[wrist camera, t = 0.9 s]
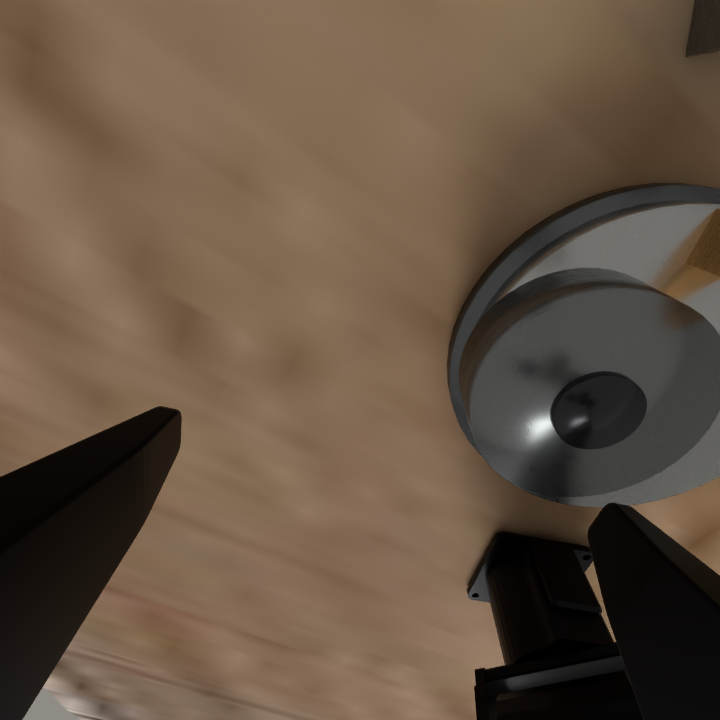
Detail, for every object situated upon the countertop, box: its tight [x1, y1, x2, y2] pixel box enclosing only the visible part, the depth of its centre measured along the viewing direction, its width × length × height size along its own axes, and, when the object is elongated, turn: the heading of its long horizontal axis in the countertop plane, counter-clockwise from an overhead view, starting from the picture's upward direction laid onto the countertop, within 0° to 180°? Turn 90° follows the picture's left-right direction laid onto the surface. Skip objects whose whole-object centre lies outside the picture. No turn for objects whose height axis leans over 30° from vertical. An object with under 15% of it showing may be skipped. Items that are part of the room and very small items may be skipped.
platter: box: [464, 200, 720, 507], centre depth 17 cm, size 15×15×5 cm
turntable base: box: [447, 183, 720, 455], centre depth 20 cm, size 16×16×1 cm
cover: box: [458, 268, 720, 497], centre depth 16 cm, size 9×9×3 cm
